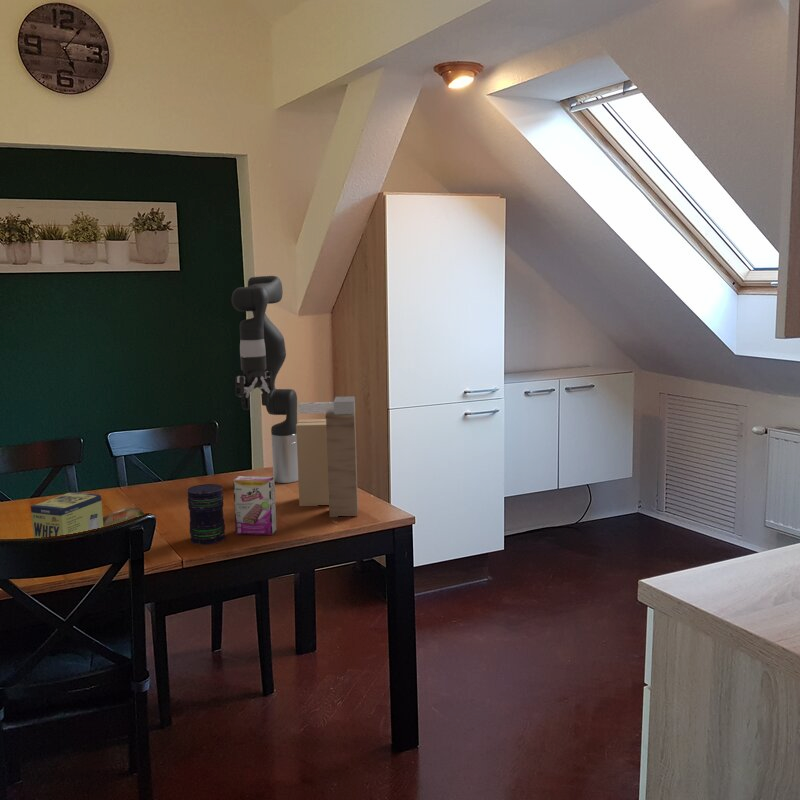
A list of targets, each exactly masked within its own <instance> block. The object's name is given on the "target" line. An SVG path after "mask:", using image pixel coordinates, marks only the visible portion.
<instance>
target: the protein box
mask: <svg viewBox="0 0 800 800" xmlns="http://www.w3.org/2000/svg"><path fill="white" fill-rule="evenodd" d="M102 503H103V502H102V494H96V493H87V492H77V491H70V492H67V493H64V494H62V495H59V496H56V497H54V498H50V499H48V500H46V501H45V500H44V501H41V502H39V503H35V504H33V505H30V511H31V512H30V514H31V523H32V534H33V535H32V536H33V539H34V538H41V537H51V536H60V535H66V534H73V533H78V532H83V531H88V530H92V529H97V528H101V527H104V526H103V517H104V515H103V504H102Z"/></svg>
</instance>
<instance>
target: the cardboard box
mask: <svg viewBox="0 0 800 800" xmlns="http://www.w3.org/2000/svg"><path fill="white" fill-rule="evenodd" d="M296 435H297V459H298V481H297V483H298V501H299V502H298V503H299V505H298V506H299V507H319V506H318V505H329V486H328V458H327V430H326V418H319V419H318V418H317V419H314V418H313V419H309V418H308V419H298V420H297V425H296Z"/></svg>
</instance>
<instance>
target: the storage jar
mask: <svg viewBox="0 0 800 800" xmlns="http://www.w3.org/2000/svg"><path fill="white" fill-rule="evenodd" d="M186 491H187V504H188V505H187V507H188V510H189V535H190V543H191V542H192V544H193V543H194V545H197V546H198V545H199V546H208V545H209V546H211V545H216V544H218V543H222V542H224V541H225V540H226V525H225V518H224V493H223V486H222V485H220V484H216V483H215V484H214V483H207V484H198V485H193V486H190V487H188V488H187V490H186ZM224 539H225V540H224ZM221 541H222V542H221ZM215 543H216V544H215ZM210 544H211V545H210Z"/></svg>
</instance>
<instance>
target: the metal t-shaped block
mask: <svg viewBox="0 0 800 800" xmlns="http://www.w3.org/2000/svg"><path fill="white" fill-rule="evenodd" d="M326 413H334V415H354V413H355V414H356V397H355V396H350V395H349V396H335V397H334V400H333V401H315V402H312V401H310V402H306V401H305V402H297V415H309V414H312V415H313V414H326Z"/></svg>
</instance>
